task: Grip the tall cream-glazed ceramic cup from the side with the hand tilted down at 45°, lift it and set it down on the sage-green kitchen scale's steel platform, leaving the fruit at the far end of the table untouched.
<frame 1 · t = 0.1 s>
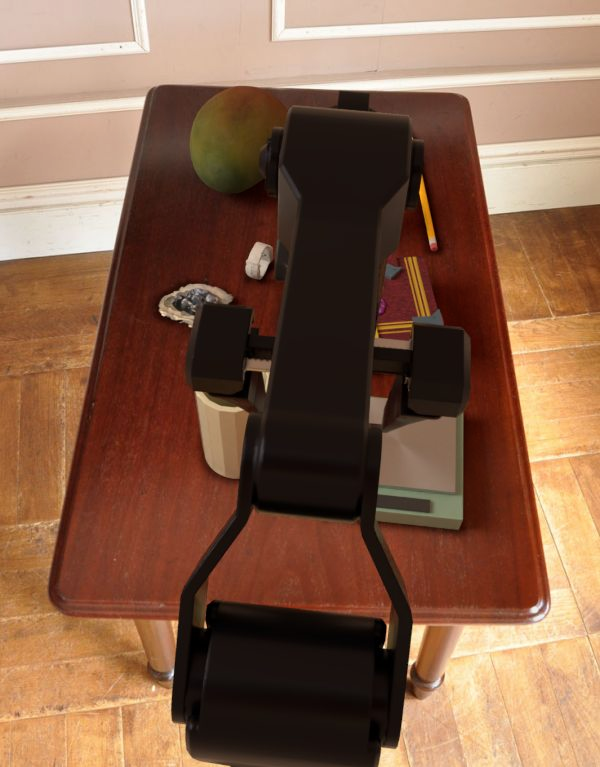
hand: (323, 421, 65), 16 cm above the table, tool pointing down, fingers open, 9 cm apart
pill bottle: (346, 228, 98), on the table
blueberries: (195, 311, 91), on the table
cup: (238, 448, 82), on the table
fruit: (242, 175, 102), on the table
decorative book: (364, 327, 90), on the table
pencil: (421, 192, 102), on the table
smartwatch: (259, 273, 94), on the table
scale: (395, 464, 81), on the table
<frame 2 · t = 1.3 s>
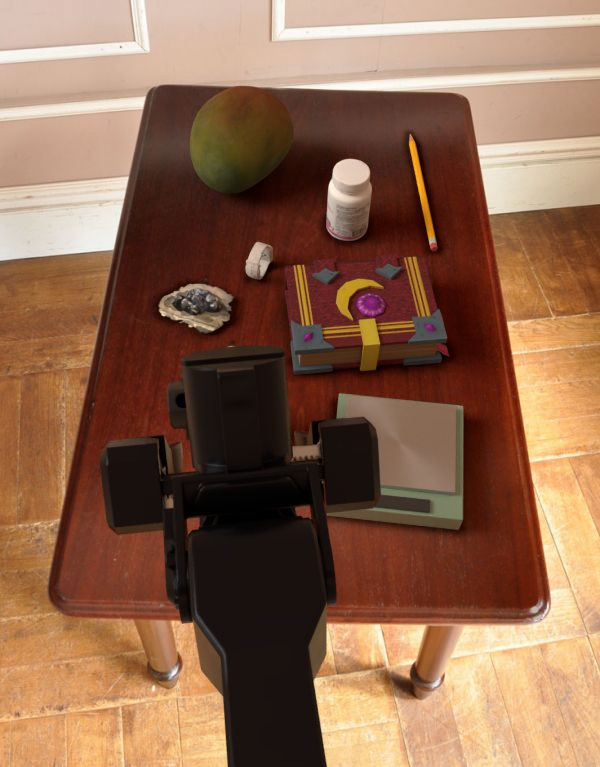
hand: (238, 442, 67), 13 cm above the table, tool tilted 45°, fingers open, 9 cm apart
nothing on the table moved.
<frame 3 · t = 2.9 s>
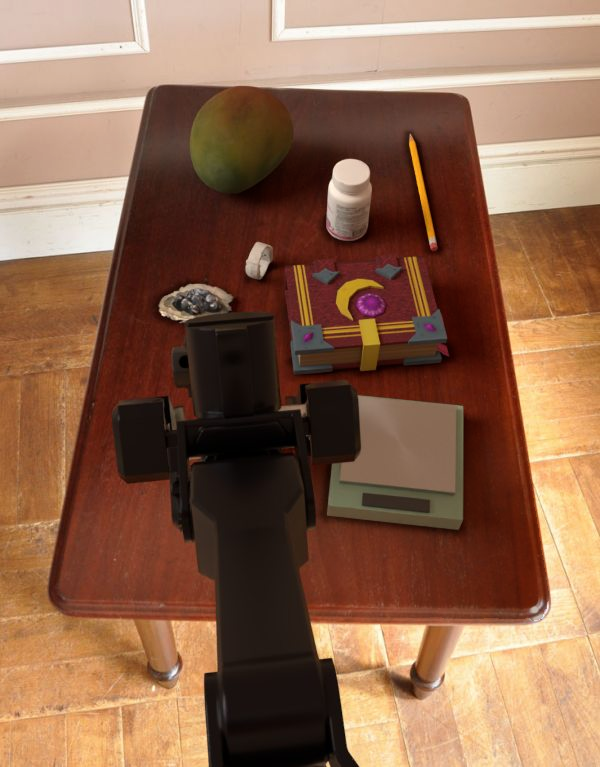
hand: (235, 406, 74), 8 cm above the table, tool tilted 45°, fingers open, 9 cm apart
nothing on the table moved.
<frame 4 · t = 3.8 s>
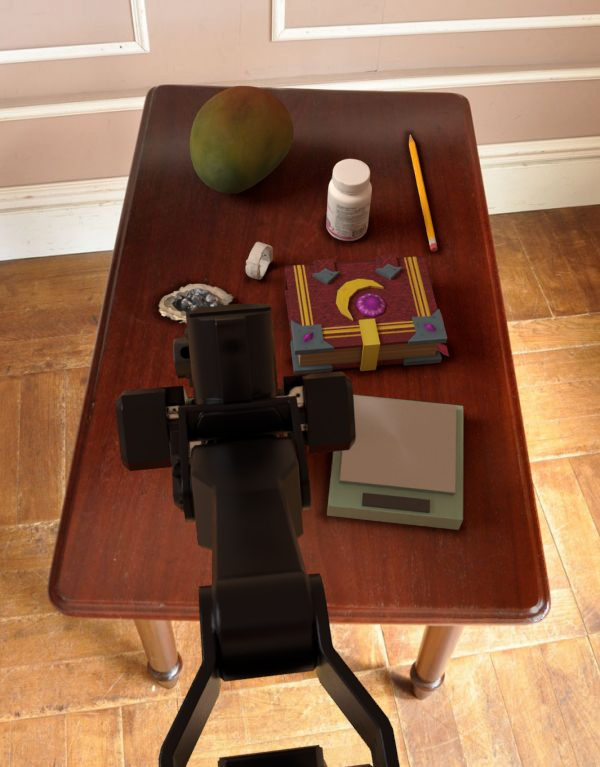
hand: (234, 398, 77), 7 cm above the table, tool tilted 45°, fingers closed on cup, 7 cm apart
cup: (238, 448, 82), on the table, touching gripper
everything else where it was.
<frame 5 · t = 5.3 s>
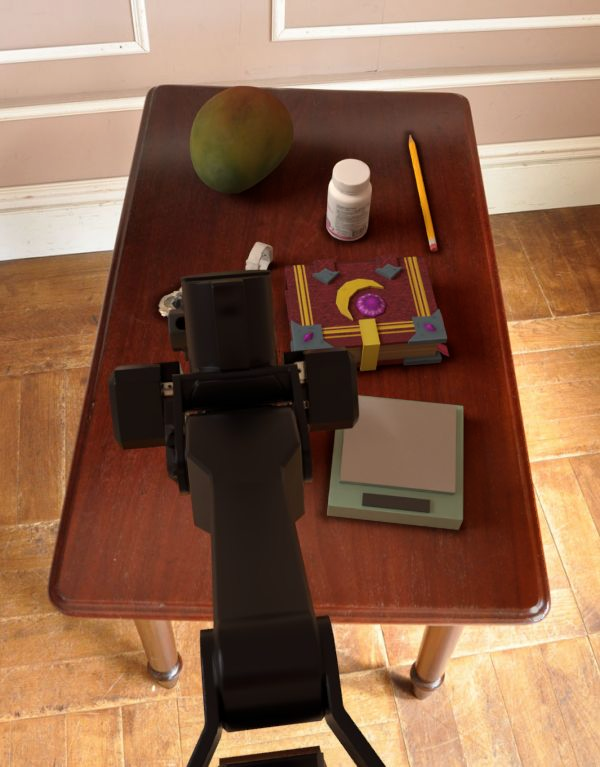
hand: (233, 377, 74), 10 cm above the table, tool tilted 45°, fingers closed on cup, 7 cm apart
cup: (237, 430, 79), point 3 cm above the table, touching gripper
everything else where it was.
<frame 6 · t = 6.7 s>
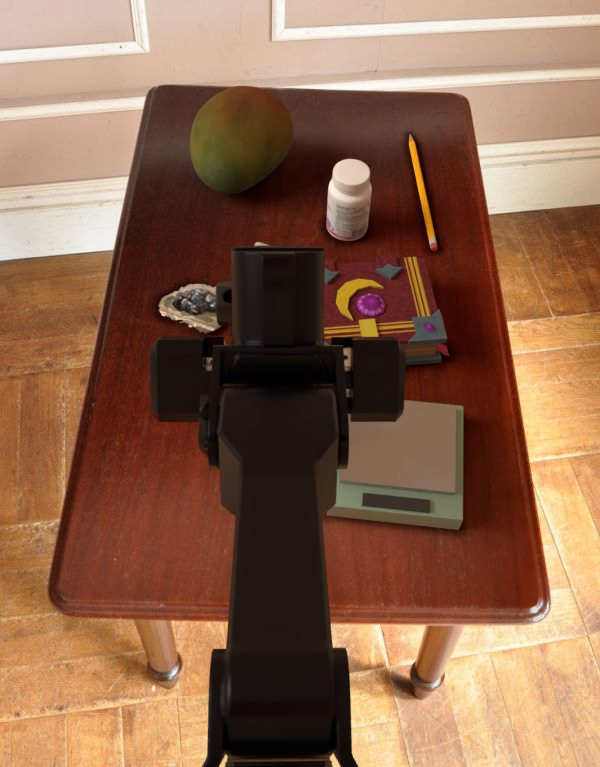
hand: (278, 360, 72), 12 cm above the table, tool tilted 45°, fingers closed on cup, 7 cm apart
cup: (277, 415, 77), point 6 cm above the table, touching gripper
everything else where it was.
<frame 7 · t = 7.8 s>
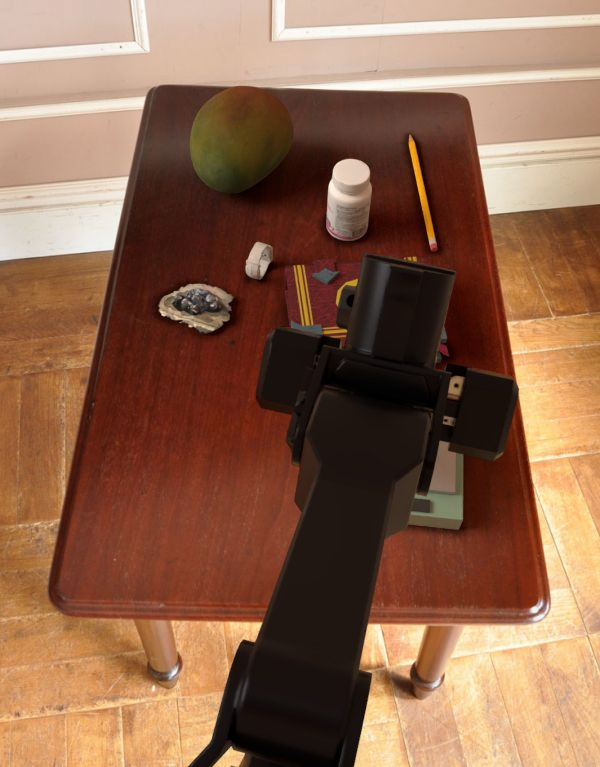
hand: (390, 373, 72), 12 cm above the table, tool tilted 45°, fingers closed on cup, 7 cm apart
cup: (379, 427, 76), point 6 cm above the table, touching gripper
everything else where it was.
when the fingers open (9 cm above the table, at t = 9.9 s): cup stays where it is, resting on scale.
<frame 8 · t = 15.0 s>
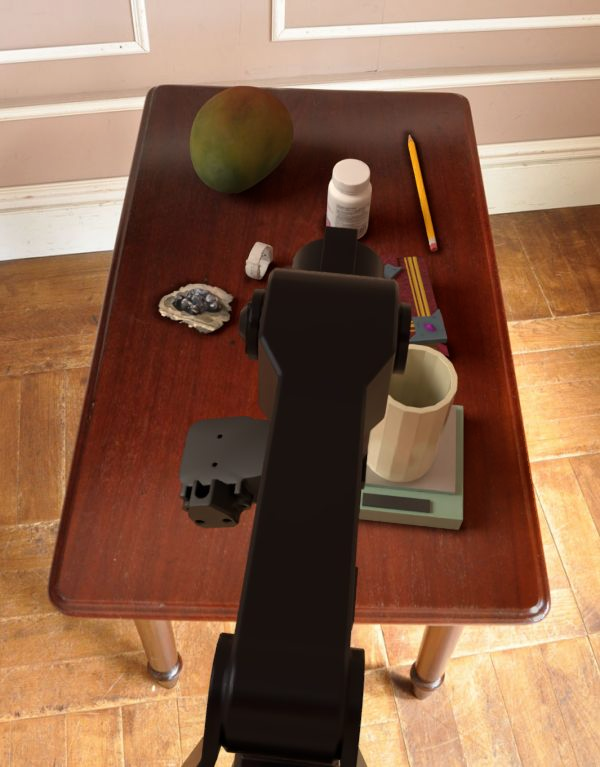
hand: (311, 538, 63), 13 cm above the table, tool pointing down, fingers open, 9 cm apart
cup: (398, 450, 79), point 3 cm above the table, touching scale
everything else where it was.
at the end: cup inside the target area on the scale (0.8 cm from its centre), point 2.8 cm above the scale's base; cup tilted 0°; fruit moved 0.2 cm from its start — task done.
